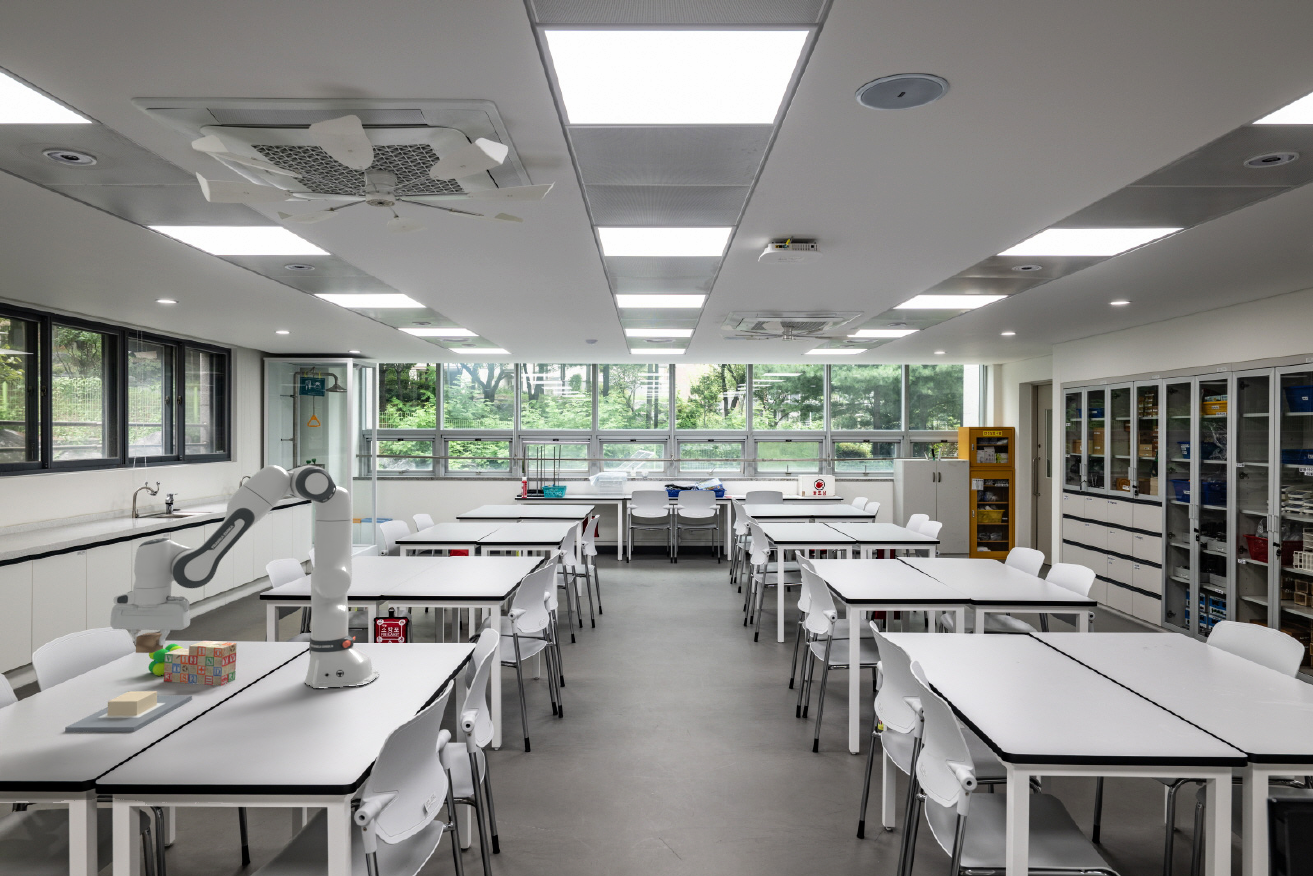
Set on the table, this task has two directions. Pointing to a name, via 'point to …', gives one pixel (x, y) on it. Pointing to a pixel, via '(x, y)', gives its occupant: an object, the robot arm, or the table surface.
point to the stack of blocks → (202, 663)
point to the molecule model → (160, 659)
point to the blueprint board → (126, 722)
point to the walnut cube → (148, 643)
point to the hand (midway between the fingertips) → (149, 644)
